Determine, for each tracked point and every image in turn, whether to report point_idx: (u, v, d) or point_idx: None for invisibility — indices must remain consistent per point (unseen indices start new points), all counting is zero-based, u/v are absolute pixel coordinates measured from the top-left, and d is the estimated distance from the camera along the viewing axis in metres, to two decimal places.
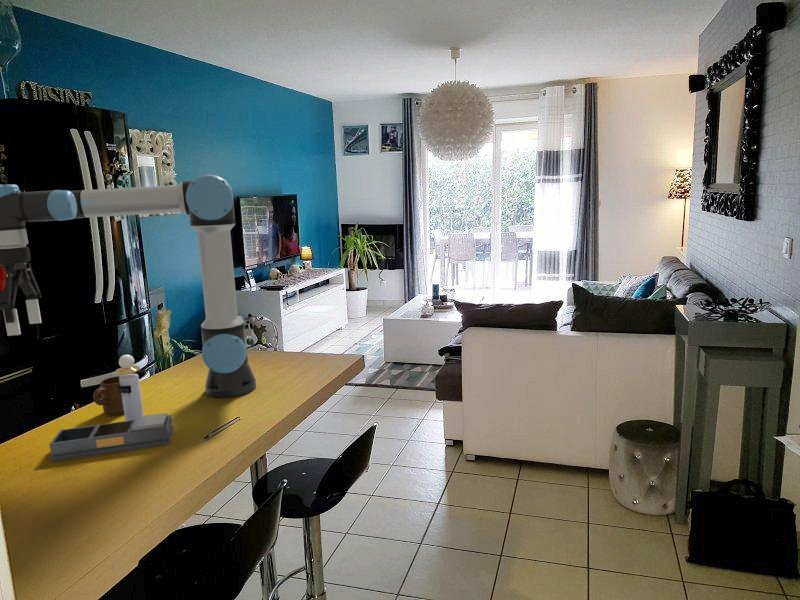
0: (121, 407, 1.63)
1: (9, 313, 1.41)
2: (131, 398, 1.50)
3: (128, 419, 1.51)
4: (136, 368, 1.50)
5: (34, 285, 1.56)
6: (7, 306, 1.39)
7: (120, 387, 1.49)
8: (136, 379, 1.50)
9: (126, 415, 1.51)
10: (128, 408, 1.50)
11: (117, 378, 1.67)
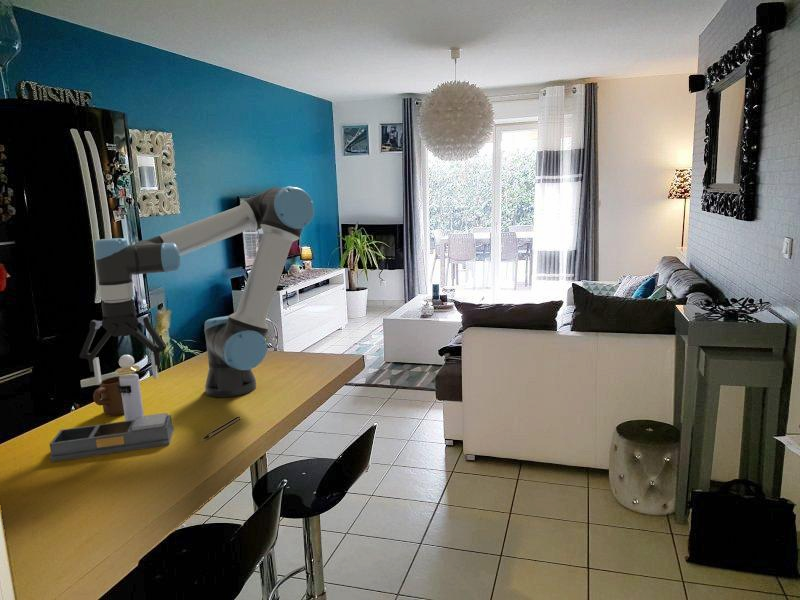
0: (121, 407, 1.63)
1: None
2: (131, 398, 1.50)
3: (128, 419, 1.51)
4: (136, 368, 1.50)
5: None
6: None
7: (120, 387, 1.49)
8: (136, 379, 1.50)
9: (126, 415, 1.51)
10: (128, 408, 1.50)
11: (117, 378, 1.67)
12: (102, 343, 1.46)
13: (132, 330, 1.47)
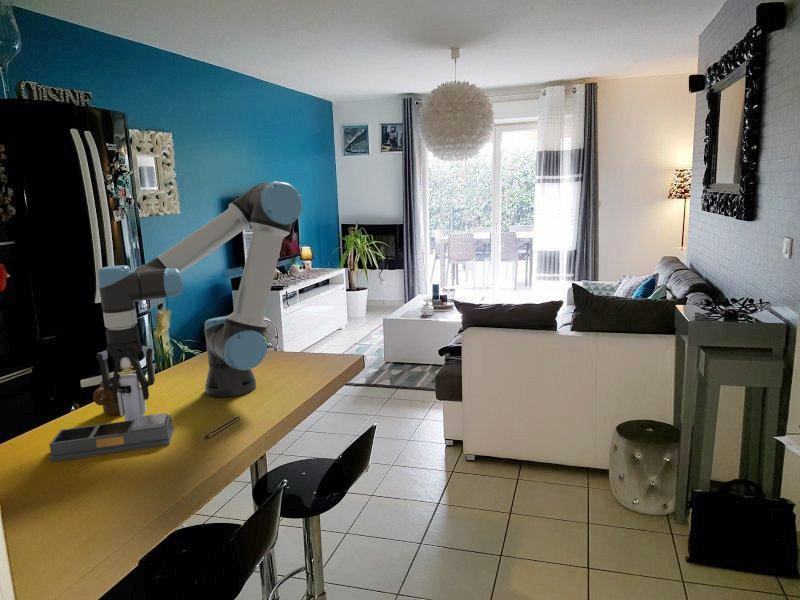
0: None
1: (113, 394, 1.50)
2: (131, 398, 1.50)
3: (128, 419, 1.51)
4: None
5: None
6: None
7: (120, 387, 1.49)
8: (136, 379, 1.50)
9: (126, 415, 1.51)
10: (127, 408, 1.50)
11: None
12: None
13: (133, 359, 1.49)
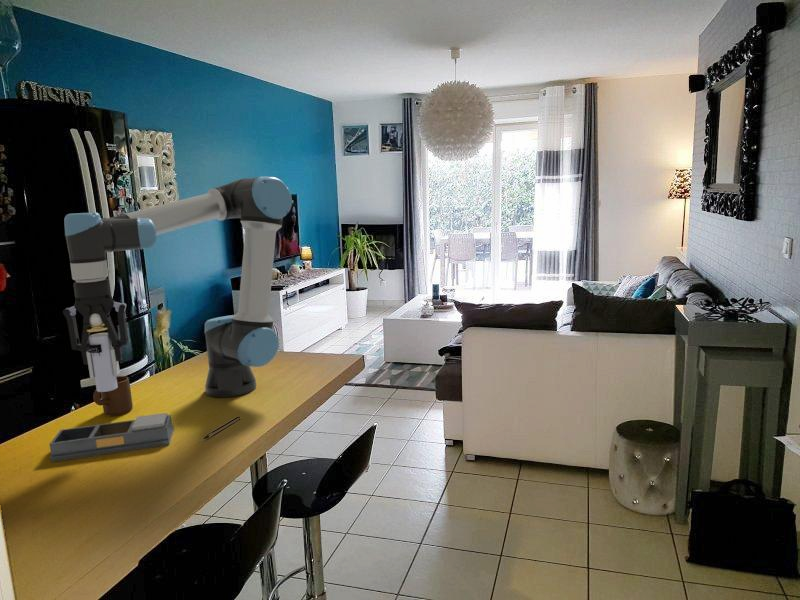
0: (121, 407, 1.63)
1: None
2: (102, 359, 1.37)
3: (99, 382, 1.38)
4: None
5: (120, 330, 1.38)
6: None
7: (89, 346, 1.36)
8: (107, 338, 1.37)
9: (96, 377, 1.38)
10: (98, 369, 1.37)
11: (117, 378, 1.67)
12: None
13: (104, 315, 1.36)
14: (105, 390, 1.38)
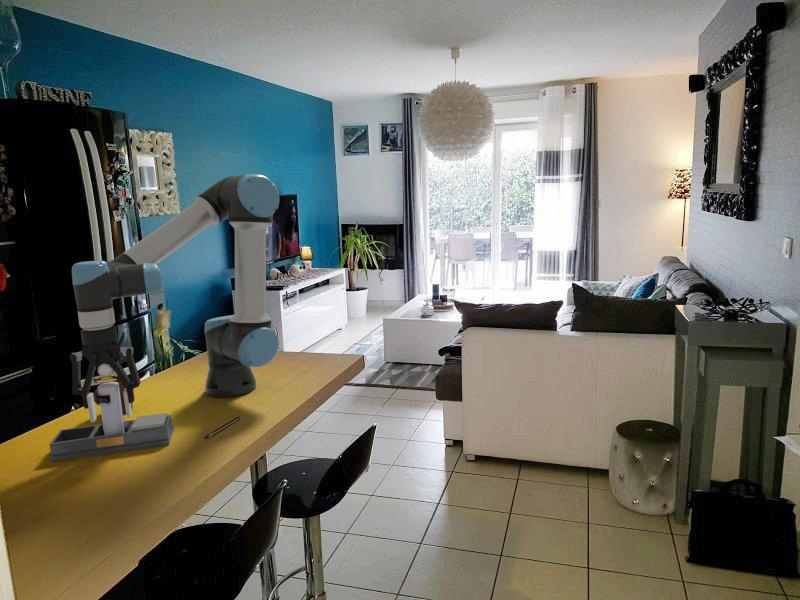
0: None
1: None
2: (110, 409, 1.39)
3: (107, 431, 1.40)
4: (116, 376, 1.40)
5: None
6: None
7: (98, 396, 1.38)
8: (116, 388, 1.40)
9: (105, 426, 1.40)
10: (106, 418, 1.39)
11: None
12: (90, 375, 1.38)
13: (112, 361, 1.38)
14: None
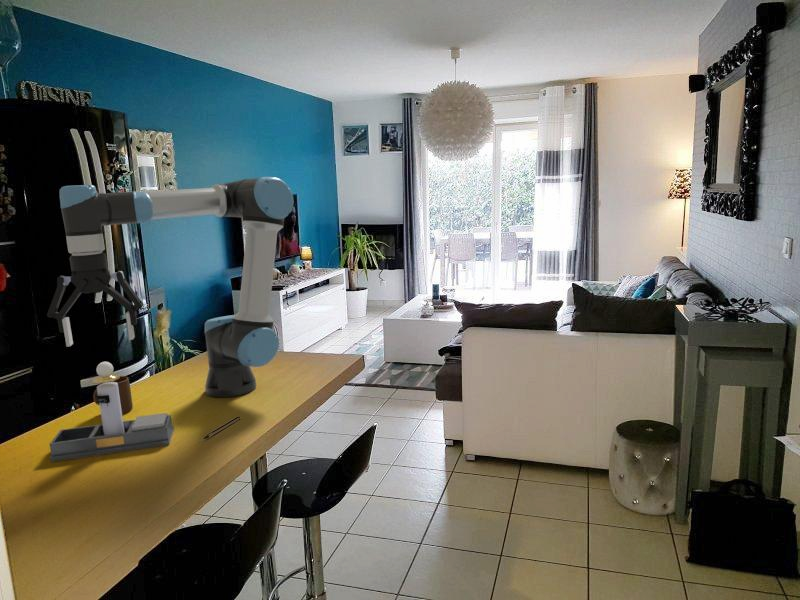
0: (121, 407, 1.63)
1: None
2: (109, 409, 1.39)
3: (106, 431, 1.40)
4: (115, 376, 1.40)
5: (129, 297, 1.37)
6: None
7: (98, 397, 1.38)
8: (115, 388, 1.40)
9: (104, 427, 1.40)
10: (106, 419, 1.39)
11: None
12: (72, 301, 1.34)
13: (104, 286, 1.35)
14: None
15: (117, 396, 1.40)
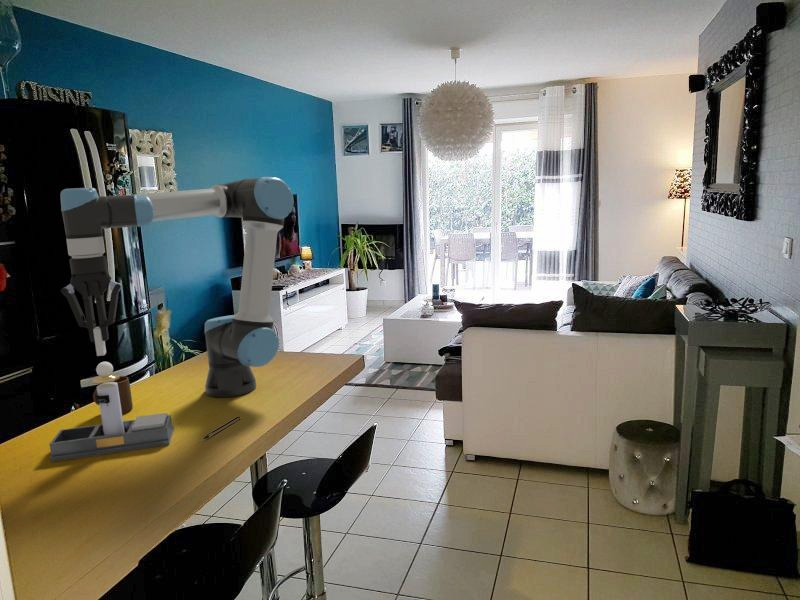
0: (121, 407, 1.63)
1: None
2: (109, 409, 1.39)
3: (106, 431, 1.40)
4: (115, 376, 1.40)
5: (109, 309, 1.37)
6: None
7: (97, 397, 1.38)
8: (115, 388, 1.40)
9: (104, 427, 1.40)
10: (106, 419, 1.39)
11: None
12: (88, 306, 1.35)
13: (98, 292, 1.35)
14: None
15: (117, 396, 1.40)
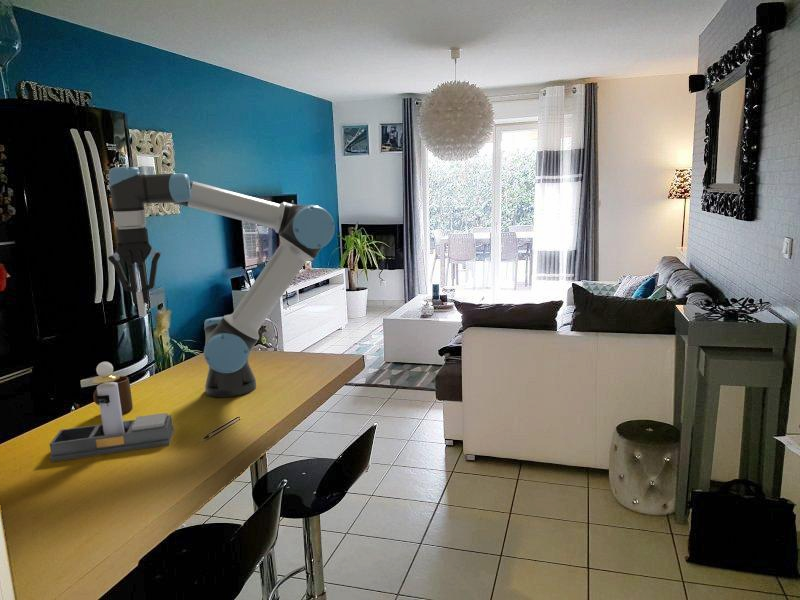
0: (121, 407, 1.63)
1: (132, 295, 1.55)
2: (109, 409, 1.39)
3: (106, 431, 1.40)
4: (115, 376, 1.40)
5: (150, 275, 1.54)
6: None
7: (98, 397, 1.38)
8: (115, 388, 1.40)
9: (104, 427, 1.40)
10: (106, 419, 1.39)
11: None
12: (132, 272, 1.53)
13: (141, 260, 1.53)
14: None
15: (117, 396, 1.40)
